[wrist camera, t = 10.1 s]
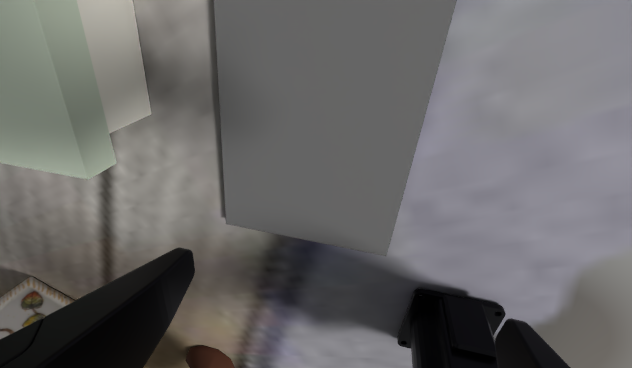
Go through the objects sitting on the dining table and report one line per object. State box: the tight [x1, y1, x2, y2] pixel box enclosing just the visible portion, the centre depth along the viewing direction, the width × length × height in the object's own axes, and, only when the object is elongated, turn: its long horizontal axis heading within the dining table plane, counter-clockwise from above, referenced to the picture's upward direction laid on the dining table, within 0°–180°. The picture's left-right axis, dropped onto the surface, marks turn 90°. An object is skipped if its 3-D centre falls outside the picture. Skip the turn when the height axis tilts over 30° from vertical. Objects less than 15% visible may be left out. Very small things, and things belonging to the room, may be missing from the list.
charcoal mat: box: [214, 0, 457, 256], centre depth 19 cm, size 18×12×1 cm, turn 174°
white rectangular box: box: [77, 0, 152, 133], centre depth 17 cm, size 11×6×4 cm, turn 174°
